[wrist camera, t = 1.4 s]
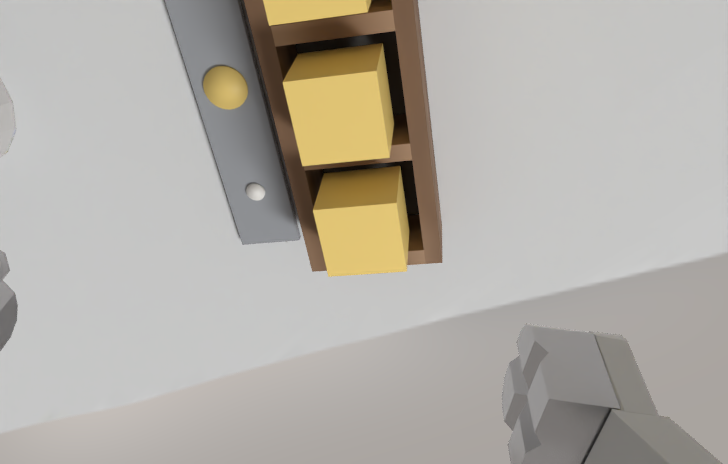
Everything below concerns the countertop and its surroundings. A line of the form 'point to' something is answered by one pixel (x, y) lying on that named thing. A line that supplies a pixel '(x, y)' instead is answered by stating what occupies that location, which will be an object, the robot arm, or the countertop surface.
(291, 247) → the countertop surface
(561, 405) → the robot arm
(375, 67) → the yellow cube
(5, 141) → the french press
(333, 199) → the yellow cube
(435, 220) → the wooden compartment tray
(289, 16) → the yellow cube
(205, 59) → the pattern card
